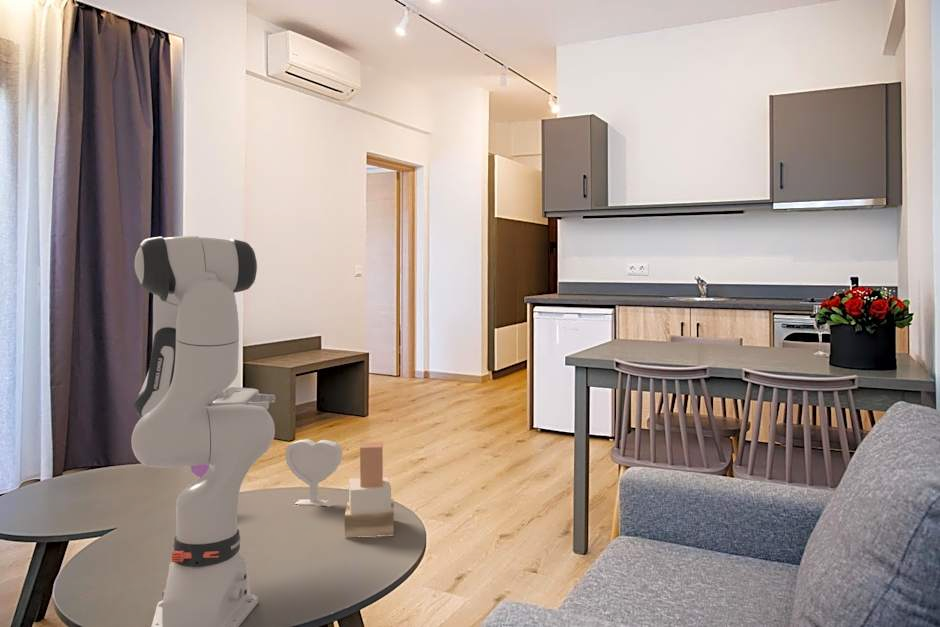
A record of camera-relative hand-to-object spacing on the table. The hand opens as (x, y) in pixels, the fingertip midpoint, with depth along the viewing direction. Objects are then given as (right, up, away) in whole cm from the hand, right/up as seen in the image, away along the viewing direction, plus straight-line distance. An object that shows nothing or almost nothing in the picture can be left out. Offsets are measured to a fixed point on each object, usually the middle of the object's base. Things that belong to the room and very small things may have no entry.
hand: (271, 402), depth 168 cm
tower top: (+22, -28, +9) cm, 37 cm away
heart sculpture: (+4, -33, +30) cm, 45 cm away
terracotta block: (+23, -22, +9) cm, 33 cm away
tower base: (+23, -34, +10) cm, 42 cm away
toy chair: (-24, -33, +23) cm, 47 cm away
